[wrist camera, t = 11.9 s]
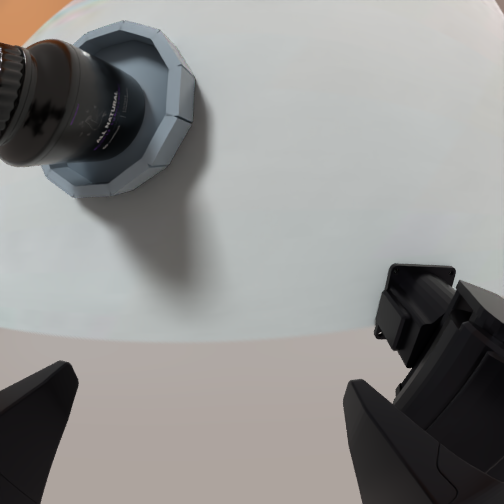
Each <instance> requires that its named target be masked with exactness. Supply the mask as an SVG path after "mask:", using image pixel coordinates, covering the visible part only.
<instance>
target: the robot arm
mask: <svg viewBox="0 0 504 504" xmlns="http://www.w3.org/2000/svg"><path fill="white" fill-rule="evenodd" d="M397 268H398V270H397V272H396V273H394V270H395V269H397ZM450 271H451V273H450ZM449 273H450V274H449ZM455 274H456V270H455V268H453V267H452V266H440V265H418V264H393V265H391V266H390V268H389V272H388V277H387V282H386V286H385V290H384V291H383V292H382V295H381V299H380V304H379V308H378V312H377V316H376V322H377V323H376V327H375V330H374V335H375V337H376V338H377V339H387V341H388V343H389V345H390V347H391V348H392V350H394V351H398V353H399V355H400V356H401V358H402V360H403V362H404V364H405V365H406V367H407V368H412V369H411V371H410V372H409V374H408V375H407V376H406V378H405V379H404V381H403V382H402V383H400V384H399V385H398V387H397V388H396V398H395V399H394V401H393V404H392V403H390V402H389V401H388V400H387V399H386V398H384V397H383V396H382V395H381V394H380V393H379V392H377V391H376V390H375V389H374V388H373V387H371V386H370V385H369V384H368V383H367V382H366V381H364V380H362V379H357V380H351V381H349V383H348V385H347V389H346V392H345V395H344V399H343V407H344V414H345V421H346V429H347V437H348V444H349V449H350V453H351V457H352V461H353V465H354V469H355V473H356V477H357V481H358V486H359V490H360V494H361V499H362V503H363V504H504V299H503V298H502V297H500V296H499V295H497V294H495V293H493V292H490V291H488V290H485V289H482V288H480V287H477V286H475V285H472V284H470V283H467V282H464V281H462V280H459V282H458V284H457V286H456V289H457V290H454V289H453V288H452V285H453V281H454V278H455ZM380 332H382V333H381V334H379V333H380ZM78 384H79V382H78V378H77V376H76V374H75V372H74V370H73V368H72V365H71V364H70V363H69V362H65V361H57V362H56V363H54V364H52V365H50V366H48V367H46V368H44V369H42V370H40V371H38V372H36V373H34V374H33V375H30V376H29V377H26V378H25V379H23V380H21V381H19V382H17V383H15V384H13V385H11V386H9V387H7V388H5V389H3V390H1V391H0V504H40V503H41V499H42V495H43V492H44V488H45V485H46V482H47V478H48V475H49V472H50V468H51V465H52V462H53V460H54V457H55V454H56V451H57V448H58V445H59V443H60V440H61V437H62V434H63V432H64V429H65V427H66V424H67V421H68V418H69V415H70V412H71V408H72V404H73V401H74V398H75V395H76V392H77V389H78Z"/></svg>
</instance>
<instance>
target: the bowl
mask: <svg viewBox="0 0 504 504" xmlns="http://www.w3.org/2000/svg"><path fill="white" fill-rule="evenodd" d="M73 46H75V47H78V48H80V49H82V50H84V51H86V52H88V53H90V54H92V55H94V56H96V57H98V58H100V59H102V60H104V61H105V62H107V63H109V64H111V65H113V66H115V67H117V68H119V69H120V70H122V71H124V72H126V73H127V74H129V75H131V76H132V77H133V78H134V79H135V80H136V81H137V82H138V83H139V84H140V86H141V88H142V90H143V93H144V97H145V115H144V119H143V123H142V126H141V128H140V130H139V132H138V134H137V136H136V138H135V139H134V140H133V142H132V143H131V144H130V145H129V147H128V148H127V149H125V150H124V151H123V152H122V153H120V154H119V155H117V156H116V157H114V158H111V159H109V160H105V161H97V162H80V163H63V164H50V165H41V166H42V169H43V171H44V174H45V176H46V177H47V179H48V180H50V181H51V182H52V183H54V184H55V185H56V186H58V187H59V188H60V189H62V190H63V191H65V192H66V193H67V194H69V195H70V196H71V197H74V198H84V197H104V196H113V195H117V194H120V193H124V192H128V191H131V190H134V189H135V188H137V187H138V186H140V185H141V184H142V183H144V182H145V181H147V180H148V179H150V178H151V177H153V176H154V175H156V174H157V173H158V172H160V171H161V170H163V169H164V168H166V167H167V165H169V164H170V162H171V160H172V158H173V157H174V155H175V153H176V151H177V149H178V148H179V146H180V144H181V142H182V141H183V139H184V137H185V135H186V134H187V132H188V130H189V129H190V127H191V125H192V124H190V123H189V122H193V106H194V88H195V78H194V75H193V73H192V72H191V70H190V68H189V67H188V65H187V64H186V62H185V60H184V59H183V57H182V55H181V54H180V52H179V51H178V49H177V47H176V46H175V45H174V44H173V43H172V42H171V41H170V40H169V39H168V38H167V36H166V35H165V34H164V33H163V32H162V31H160V30H159V29H156V28H152V27H149V26H145V25H142V24H138V23H134V22H130V21H126V20H125V21H120V22H116V23H113V24H110V25H107V26H104V27H101V28H98V29H96V30H93V31H90V32H87V34H84V35H83V36H82V37H81V38H80V39H79V40H78V41H76V42H75V43H74V44H73Z"/></svg>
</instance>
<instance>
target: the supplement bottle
mask: <svg viewBox="0 0 504 504" xmlns="http://www.w3.org/2000/svg"><path fill="white" fill-rule="evenodd" d="M144 115H145V97H144V93H143V90H142V88H141V86H140V84H139V83H138V82H137V81H136V80H135V79H134V78H133V77H132V76H131V75H129V74H127V73H126V72H124V71H122V70H120V69H119V68H117V67H115V66H113V65H111V64H109V63H107V62H105V61H104V60H102V59H100V58H98V57H96V56H94V55H92V54H90V53H88V52H86V51H84V50H82V49H80V48H78V47H75V46H73V45H71V44H69V43H67V42H64V41H61V40H58V39H47V40H43V41H39V42H37V43H34V44H32V45H30V46H29V47H27V48H23V47H20V46H12V45H8V44H4V43H0V159H1V160H2V161H3V162H5V163H6V164H8V165H10V166H14V167H29V166H39V165H50V164H63V163H80V162H97V161H105V160H109V159H111V158H114V157H116V156H117V155H119V154H120V153H122V152H123V151H124V150H125V149H127V148H128V147H129V145H130V144H131V143H132V142H133V140H134V139H135V138H136V136H137V134H138V132H139V130H140V128H141V126H142V123H143V119H144Z"/></svg>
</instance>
